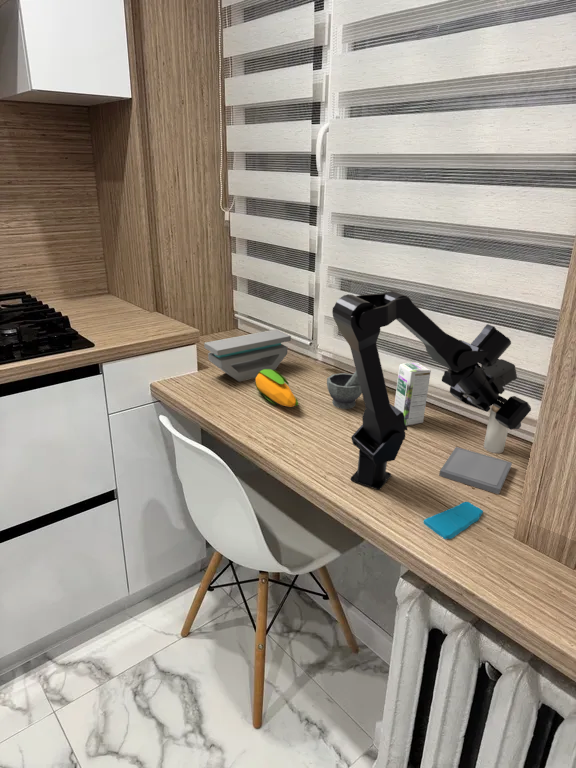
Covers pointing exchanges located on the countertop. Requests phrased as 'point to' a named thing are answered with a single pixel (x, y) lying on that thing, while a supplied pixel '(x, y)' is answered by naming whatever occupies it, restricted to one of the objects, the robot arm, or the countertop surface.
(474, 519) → the sponge
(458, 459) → the slate trivet
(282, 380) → the corn
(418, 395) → the syrup box
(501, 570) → the countertop surface
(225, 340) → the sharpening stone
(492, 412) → the spice jar
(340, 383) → the mortar and pestle
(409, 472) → the countertop surface
